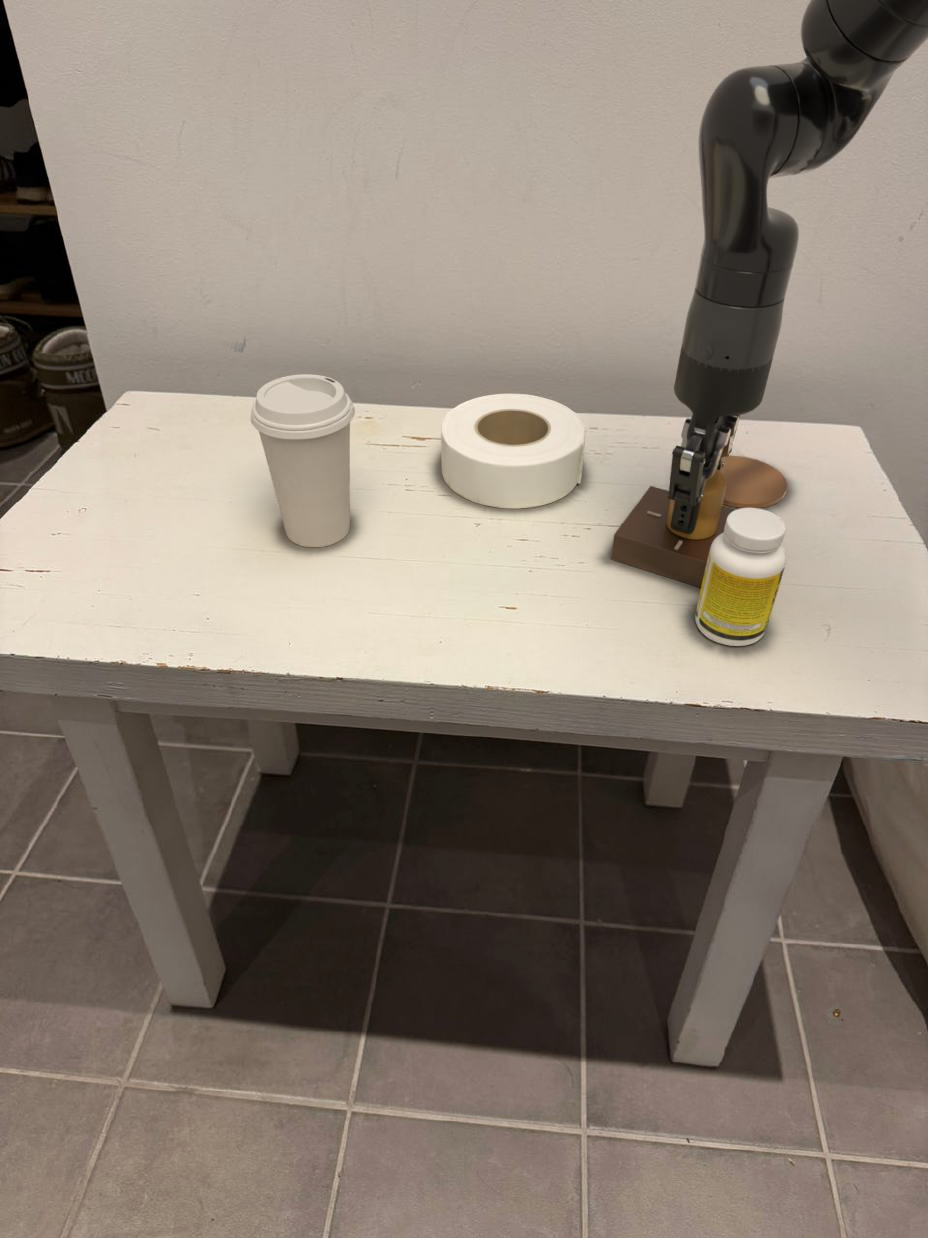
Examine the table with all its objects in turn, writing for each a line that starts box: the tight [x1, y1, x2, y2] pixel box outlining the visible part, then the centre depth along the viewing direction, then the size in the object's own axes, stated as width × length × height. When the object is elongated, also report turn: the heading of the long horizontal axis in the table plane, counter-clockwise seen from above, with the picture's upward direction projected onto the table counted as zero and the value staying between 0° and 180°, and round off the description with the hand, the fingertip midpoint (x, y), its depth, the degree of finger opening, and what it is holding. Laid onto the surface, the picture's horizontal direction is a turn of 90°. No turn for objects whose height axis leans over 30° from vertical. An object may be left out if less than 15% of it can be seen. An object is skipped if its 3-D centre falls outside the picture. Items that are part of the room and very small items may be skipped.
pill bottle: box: [694, 508, 787, 647], centre depth 74 cm, size 6×6×11 cm
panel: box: [610, 485, 736, 588], centre depth 85 cm, size 12×10×3 cm
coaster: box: [717, 455, 788, 509], centre depth 95 cm, size 10×10×1 cm
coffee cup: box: [250, 373, 356, 548], centre depth 84 cm, size 10×10×15 cm
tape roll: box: [440, 393, 586, 510], centre depth 95 cm, size 16×16×6 cm
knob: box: [666, 471, 727, 539], centre depth 82 cm, size 5×5×6 cm
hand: (691, 515), depth 83 cm, fingers closed on knob, 5 cm apart
